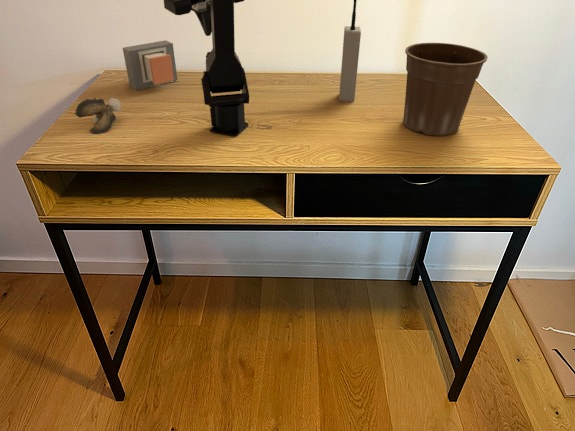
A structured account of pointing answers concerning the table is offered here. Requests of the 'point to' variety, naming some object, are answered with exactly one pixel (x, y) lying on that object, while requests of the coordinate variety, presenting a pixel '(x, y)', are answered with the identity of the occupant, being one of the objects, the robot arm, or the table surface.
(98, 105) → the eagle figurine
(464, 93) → the plant pot
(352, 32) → the vintage mobile phone
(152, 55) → the plunger
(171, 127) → the table surface
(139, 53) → the box
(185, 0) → the robot arm
